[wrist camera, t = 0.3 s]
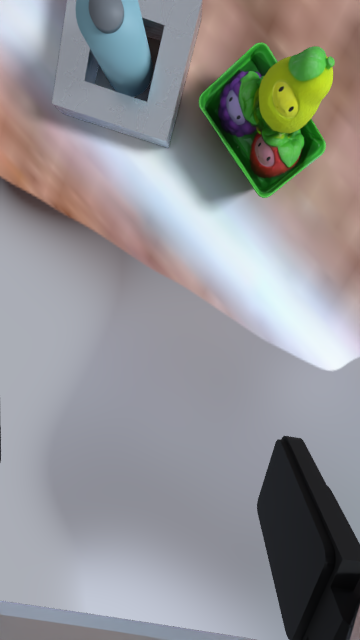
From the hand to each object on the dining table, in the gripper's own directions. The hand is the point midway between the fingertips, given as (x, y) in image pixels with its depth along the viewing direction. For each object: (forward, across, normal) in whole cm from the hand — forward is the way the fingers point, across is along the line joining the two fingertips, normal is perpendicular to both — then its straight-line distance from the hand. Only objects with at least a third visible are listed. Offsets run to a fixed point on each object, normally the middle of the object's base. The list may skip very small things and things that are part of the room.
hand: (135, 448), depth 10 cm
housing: (+30, +8, -22) cm, 38 cm away
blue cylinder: (+30, +8, -22) cm, 38 cm away
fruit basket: (+30, -6, -18) cm, 36 cm away
